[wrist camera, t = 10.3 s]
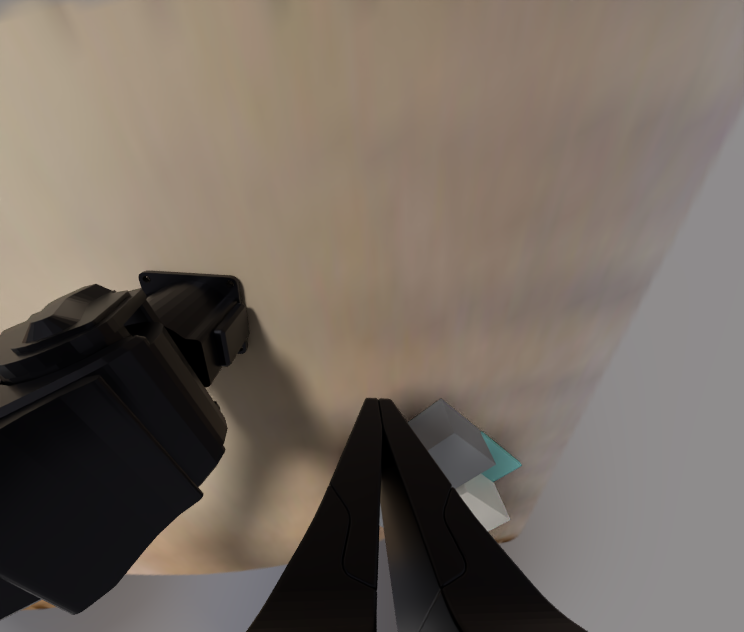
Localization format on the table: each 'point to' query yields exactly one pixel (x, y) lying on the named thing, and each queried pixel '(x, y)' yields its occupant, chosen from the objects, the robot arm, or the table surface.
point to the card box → (484, 501)
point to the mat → (499, 461)
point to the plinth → (452, 443)
